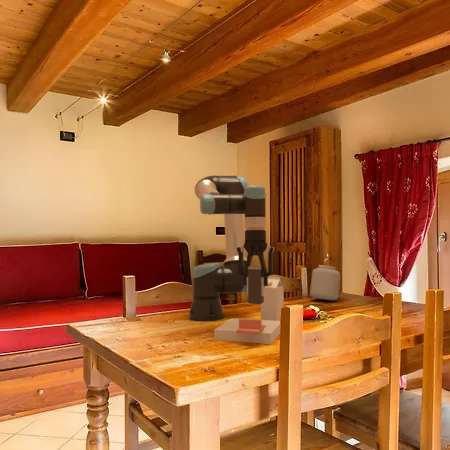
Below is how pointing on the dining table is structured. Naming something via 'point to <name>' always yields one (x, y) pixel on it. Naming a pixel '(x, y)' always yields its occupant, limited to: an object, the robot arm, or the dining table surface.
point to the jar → (325, 283)
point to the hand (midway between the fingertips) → (256, 295)
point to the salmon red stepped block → (250, 326)
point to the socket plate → (229, 334)
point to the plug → (254, 285)
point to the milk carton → (273, 299)
